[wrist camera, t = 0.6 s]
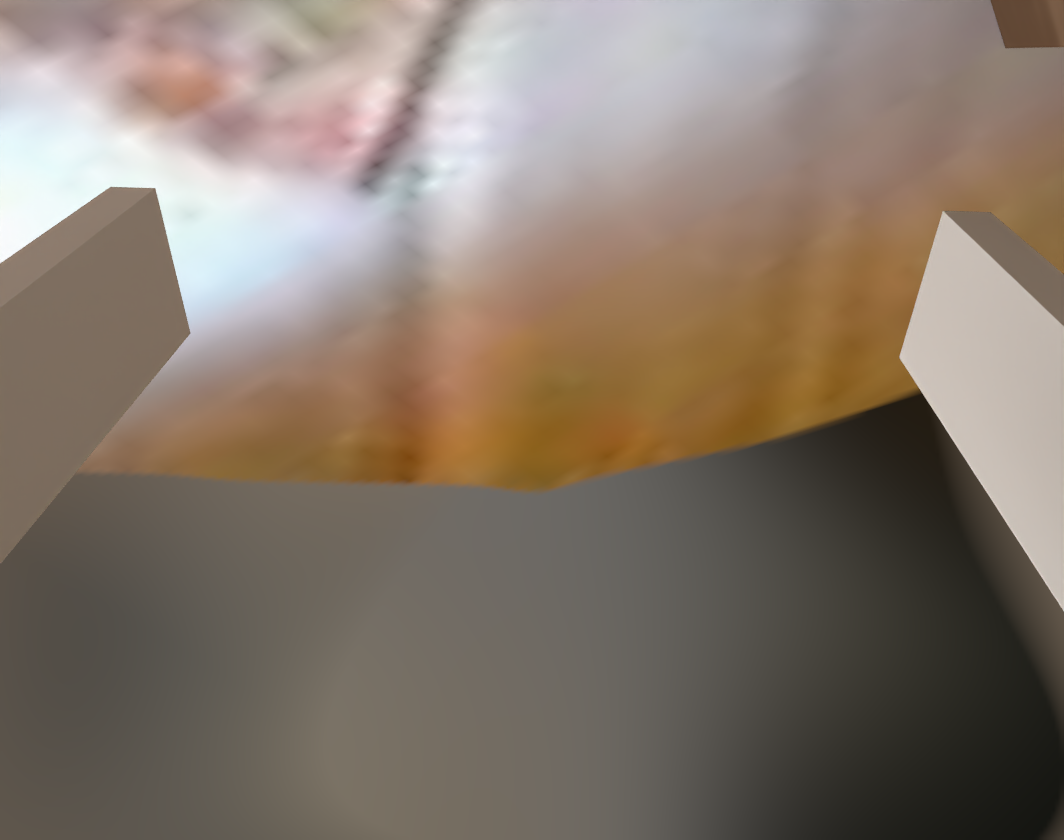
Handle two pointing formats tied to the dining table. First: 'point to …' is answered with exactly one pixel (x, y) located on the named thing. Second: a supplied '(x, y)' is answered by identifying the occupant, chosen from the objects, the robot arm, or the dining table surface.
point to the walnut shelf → (1030, 22)
